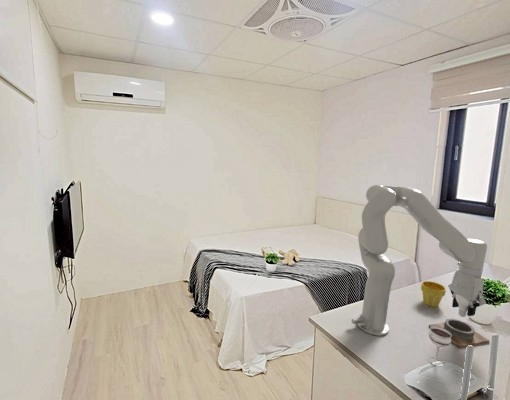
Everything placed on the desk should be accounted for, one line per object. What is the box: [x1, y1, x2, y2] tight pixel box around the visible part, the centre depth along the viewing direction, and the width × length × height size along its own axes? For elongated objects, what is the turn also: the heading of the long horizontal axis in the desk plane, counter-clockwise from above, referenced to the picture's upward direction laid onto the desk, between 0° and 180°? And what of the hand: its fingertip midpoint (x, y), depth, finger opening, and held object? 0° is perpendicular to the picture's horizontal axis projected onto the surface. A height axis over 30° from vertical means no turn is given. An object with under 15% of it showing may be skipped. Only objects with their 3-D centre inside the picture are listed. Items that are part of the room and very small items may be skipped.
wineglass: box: [426, 326, 452, 364], centre depth 104 cm, size 7×7×12 cm
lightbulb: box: [456, 294, 474, 318], centre depth 120 cm, size 6×6×11 cm
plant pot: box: [420, 280, 447, 308], centre depth 146 cm, size 10×10×10 cm
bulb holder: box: [428, 318, 491, 349], centre depth 122 cm, size 16×14×4 cm
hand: (462, 310), depth 120 cm, fingers closed on lightbulb, 5 cm apart
